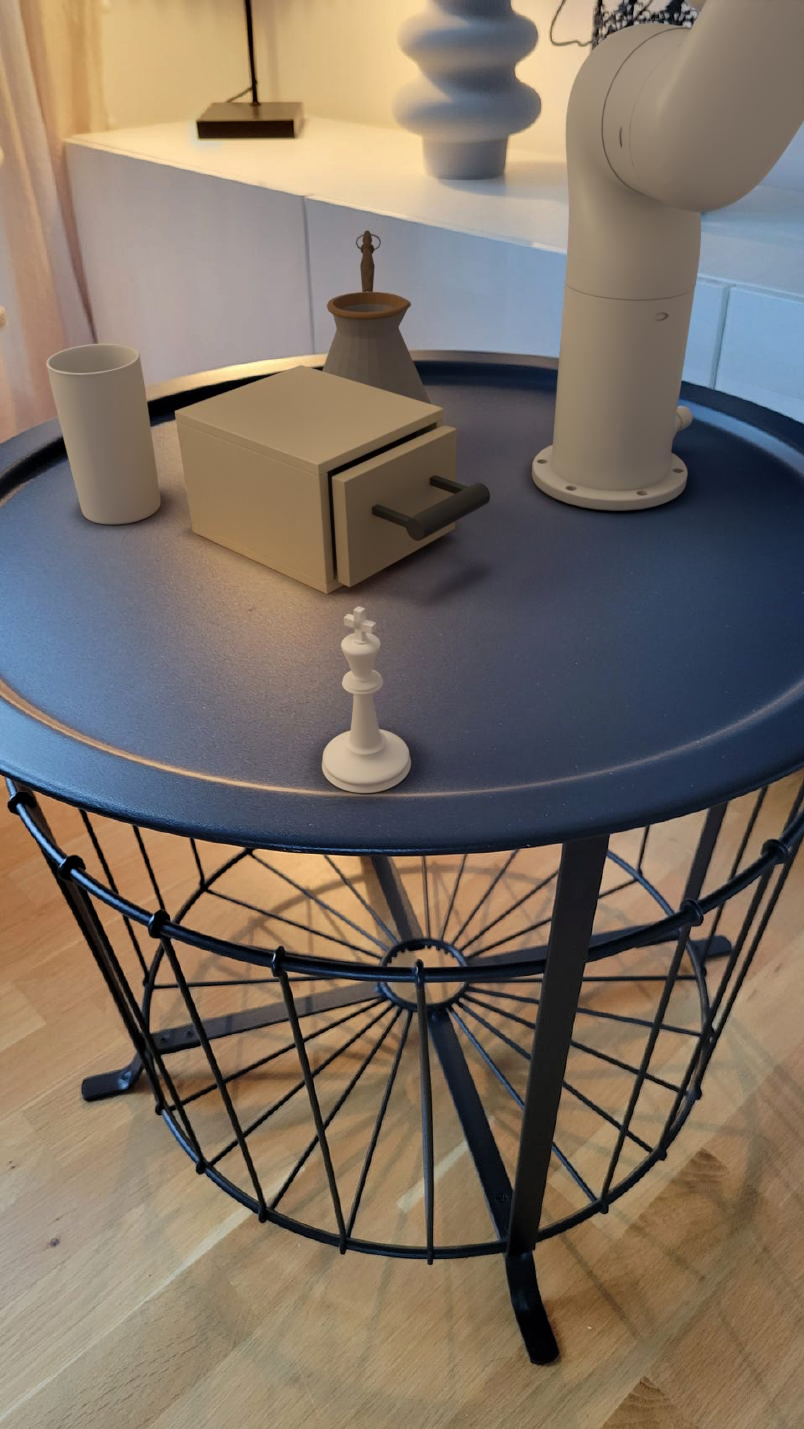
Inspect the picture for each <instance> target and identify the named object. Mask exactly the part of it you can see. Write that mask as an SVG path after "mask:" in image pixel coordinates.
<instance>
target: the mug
mask: <svg viewBox="0 0 804 1429" xmlns="http://www.w3.org/2000/svg"><path fill="white" fill-rule="evenodd" d="M141 362H142V361H141V353H140V352H139V350H137V349H136V348H134V347H132V346H129V345H125V344H119V343H91V344H84V345H78V346H73V347H69V348H66V349H63V350H60V351H58V352H55V353H53V354H52V355H51V356H49V357H48V358H47V360H46V362H45V365H46V369H47V374H48V378H49V384H50V388H51V393H52V397H53V401H54V405H55V409H56V414H57V417H58V421H59V425H60V429H61V434H62V439H63V442H64V445H65V450H66V455H67V459H68V463H69V467H70V469H71V475H72V478H73V483H74V487H75V491H76V493H77V498H78V502H79V507H80V510H81V513H82V515H83V516H84V518H85V519H87V520H88V521H90V522H93V523H95V524H96V523H97V524H100V525H125V524H130V523H135V522H139V521H141V520H145V519H146V518H149V517H151V516H152V515H153V514H155V513H156V512H157V511H158V510H159V508H160V507H161V502H162V500H161V494H160V493H161V492H160V487H159V476H158V469H157V462H156V456H155V455H156V454H155V450H154V449H155V448H154V442H153V436H152V428H151V420H150V414H149V407H148V400H147V394H146V393H147V392H146V385H145V378H144V372H143V367H142V363H141Z"/></svg>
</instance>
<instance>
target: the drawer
mask: <svg viewBox="0 0 804 1429" xmlns="http://www.w3.org/2000/svg"><path fill="white" fill-rule="evenodd" d="M457 432H458V428H456V427H453V426H449V425H445V424H444V425H443V426H441V427H439V428H436V429H434V430H432V431H430V432H428V433H426V434H424V435H423V428H422V429H420V430H418V431H415V432H413V433H411V434H409V435H407V436H405V437H402V438H400V439H398V440H396V441H394V442H391V443H389V444H387V445H385V446H383V447H381V448H378V449H376V450H374V451H372V452H370V453H367V454H365V455H363V456H361V457H359V458H356V459H354V460H352V461H350V462H348V463H346V464H343V465H341V466H339V467H337V468H335V469H332V470H330V471H328V472H327V475H328V491H329V507H330V523H331V539H332V555H333V567H334V566H336V565H337V572H338V582H339V583H342V584H344V585H343V586H346V587H348V588H352V587H354V586H355V585H357V584H358V583H361V582H362V581H364V580H366V579H367V578H369V577H371V576H373V575H375V574H377V573H378V572H380V571H382V570H384V569H385V568H387V567H389V566H391V565H393V564H394V563H397V562H398V561H400V560H401V559H404V558H405V557H408V556H409V555H410V554H412V553H415V552H416V551H418V550H419V549H421V548H424V547H425V546H426V545H428V544H430V543H432V542H434V541H436V540H437V539H439V538H441V537H443V536H444V535H446V534H448V533H450V532H452V531H453V530H455V529H456V522H457V521H458V520H460V519H462V518H465V517H466V516H467V515H470V514H471V513H473V512H475V511H477V510H478V509H480V508H482V507H485V506H486V505H487V504H489V503H490V500H491V492H490V489H489V487H488V486H487V485H486V484H485V483H483V482H480V481H479V482H475V483H473V484H470V486H467V485H464V484H461V483H459V482H457V446H458V445H457V442H458V441H457V439H458V438H457V437H458V436H457V434H458V433H457Z"/></svg>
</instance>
